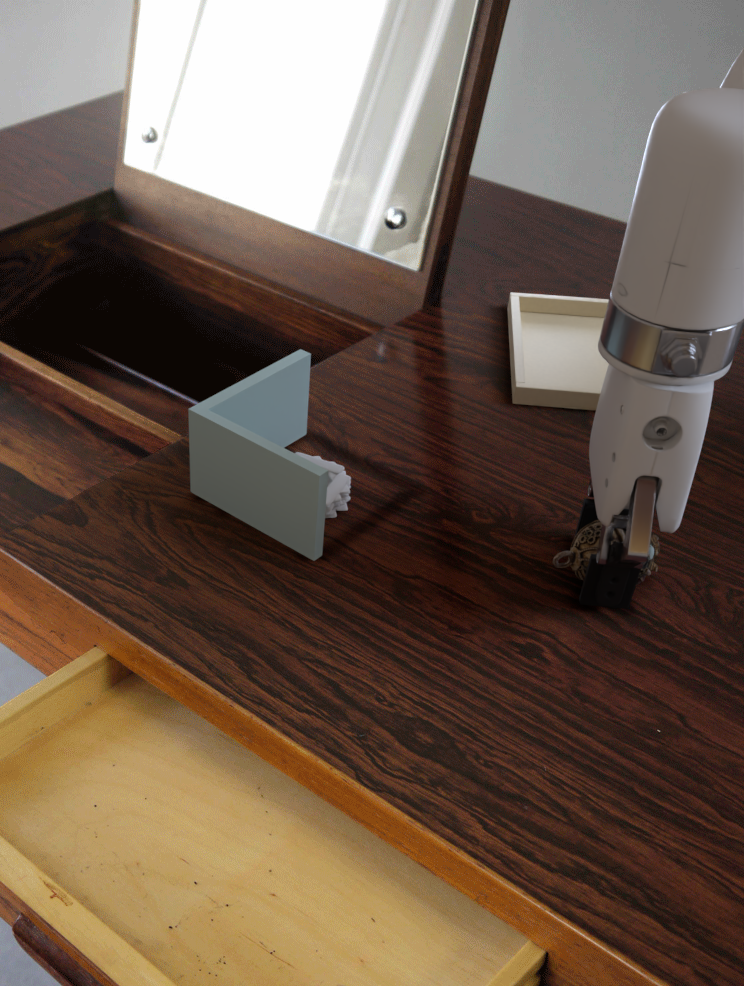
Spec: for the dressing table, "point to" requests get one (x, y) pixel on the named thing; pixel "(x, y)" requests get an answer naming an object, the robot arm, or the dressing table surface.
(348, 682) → the dressing table surface
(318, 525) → the l-shaped corner panel
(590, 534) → the pendant
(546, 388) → the cream shallow tray
